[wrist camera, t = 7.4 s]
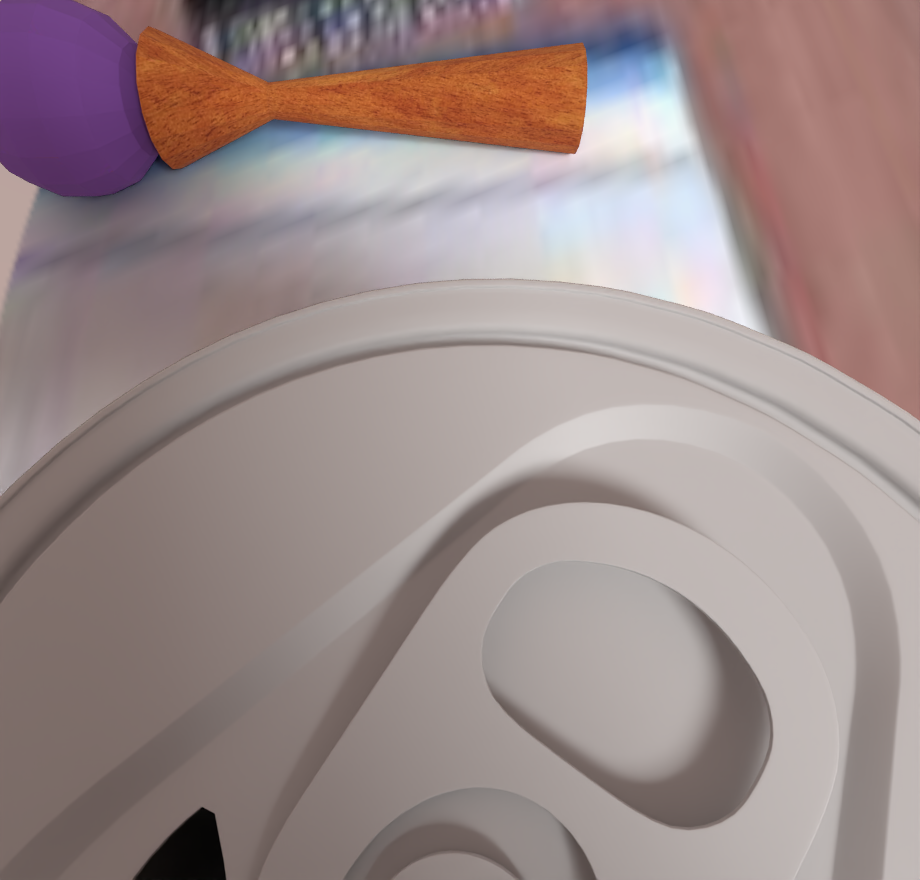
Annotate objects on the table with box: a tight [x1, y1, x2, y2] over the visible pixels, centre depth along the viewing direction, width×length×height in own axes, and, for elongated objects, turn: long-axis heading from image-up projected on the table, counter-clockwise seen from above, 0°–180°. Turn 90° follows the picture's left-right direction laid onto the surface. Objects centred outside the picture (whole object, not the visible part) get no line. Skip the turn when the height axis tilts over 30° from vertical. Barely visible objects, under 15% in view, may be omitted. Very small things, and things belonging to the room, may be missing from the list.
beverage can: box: [0, 279, 920, 880], centre depth 8 cm, size 6×6×12 cm
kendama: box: [0, 0, 587, 196], centre depth 22 cm, size 6×6×20 cm
